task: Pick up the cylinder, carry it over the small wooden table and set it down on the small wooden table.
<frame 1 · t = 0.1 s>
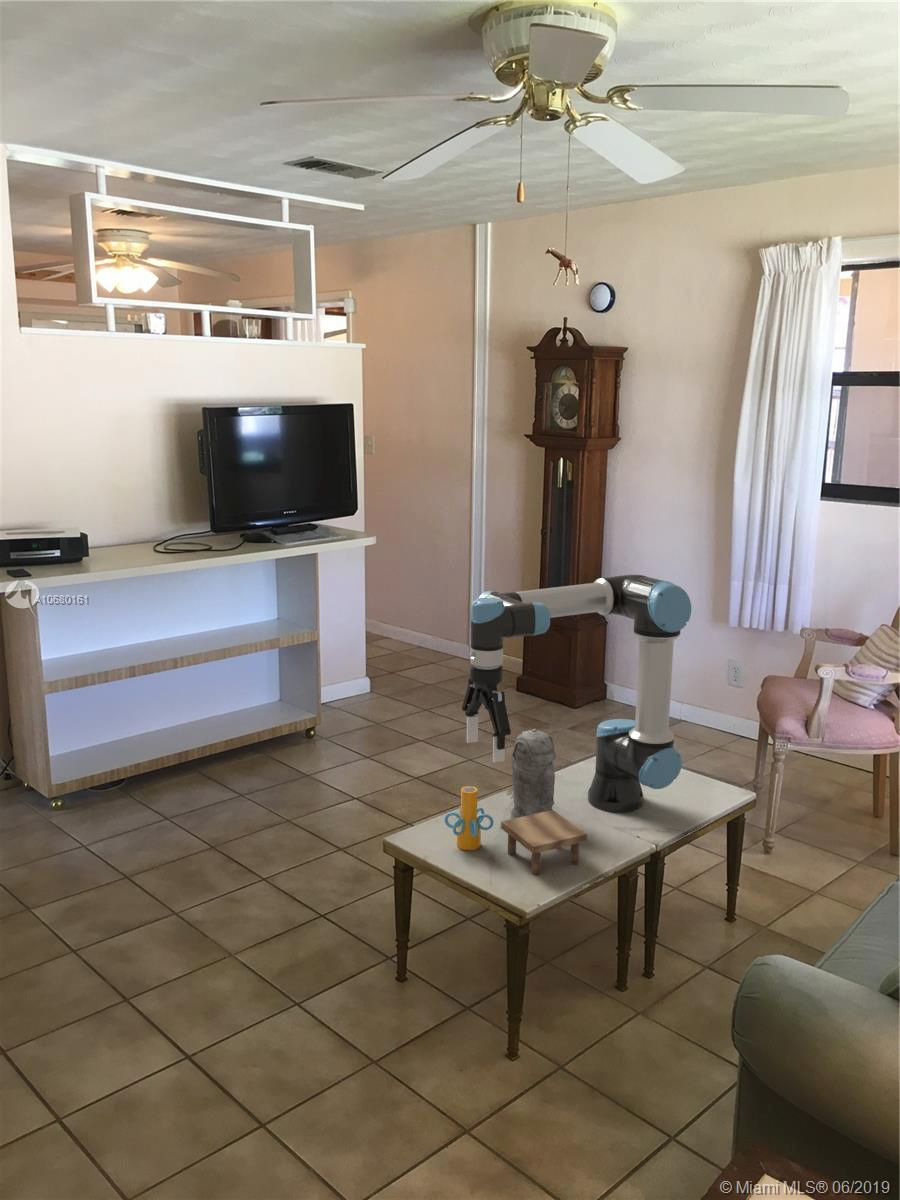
hand: (485, 751, 227), 28 cm above the table, fingers open, 13 cm apart
figurine: (530, 819, 255), on the table
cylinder: (468, 846, 240), on the table
small wooden table: (542, 858, 234), on the table
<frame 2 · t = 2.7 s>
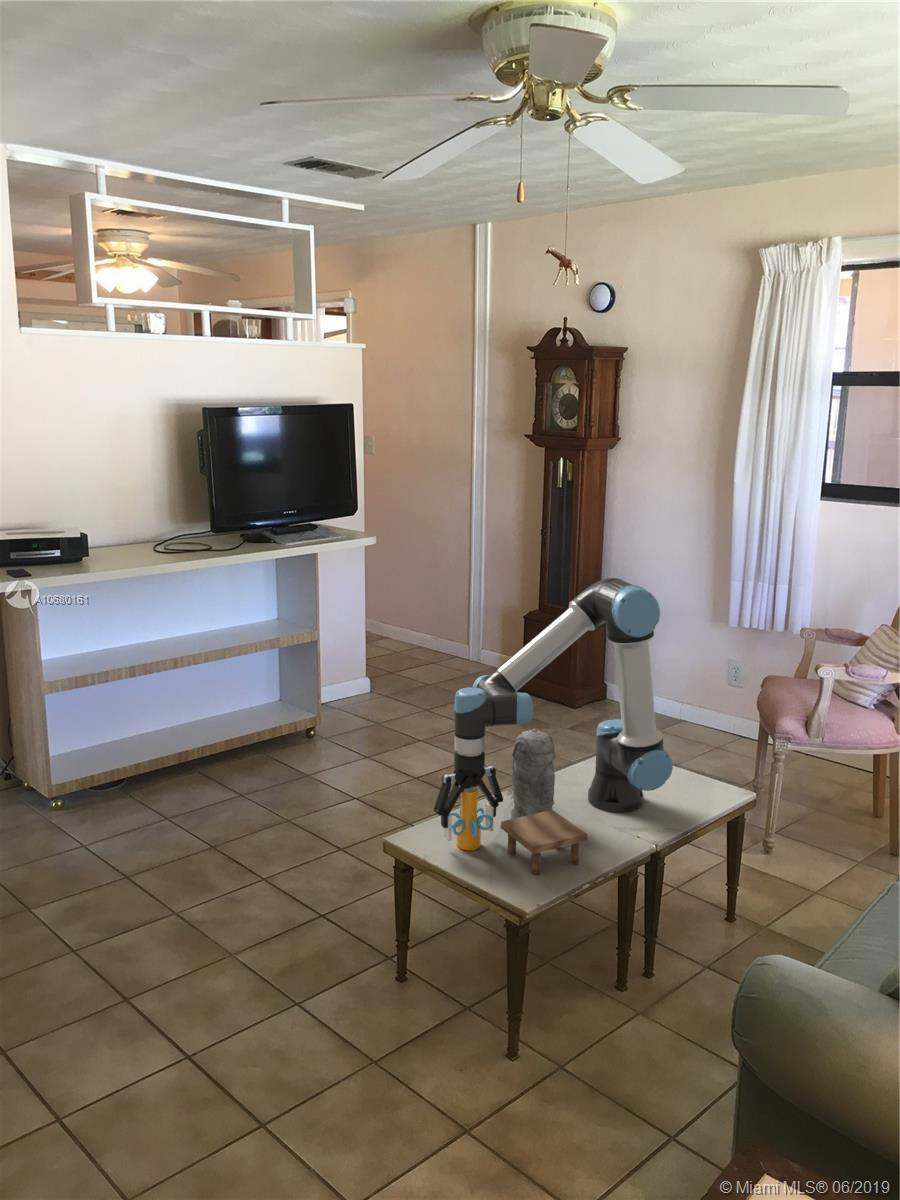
hand: (468, 834, 239), 3 cm above the table, fingers closed on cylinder, 11 cm apart
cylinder: (468, 846, 240), on the table, touching gripper
everything else where it was.
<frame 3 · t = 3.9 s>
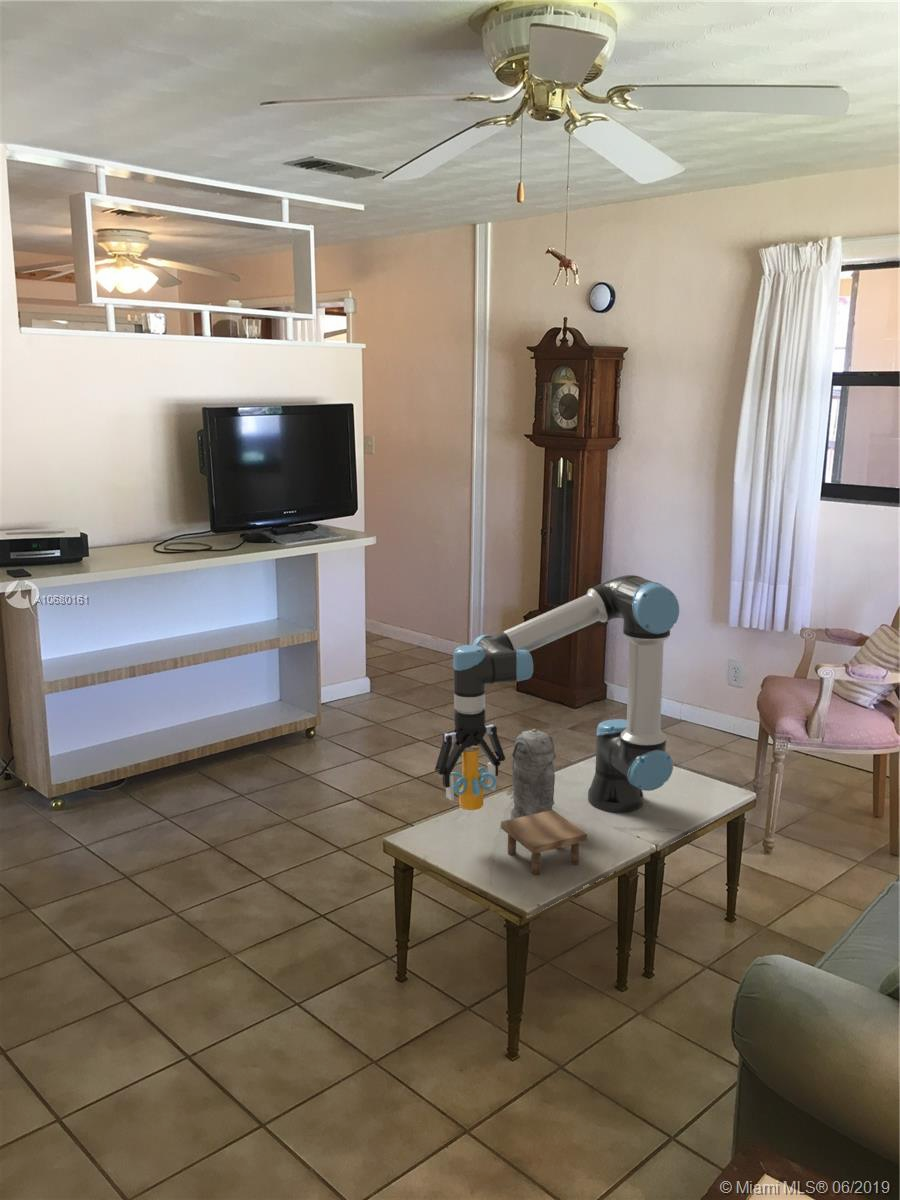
hand: (471, 793, 237), 14 cm above the table, fingers closed on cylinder, 11 cm apart
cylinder: (471, 806, 238), point 10 cm above the table, touching gripper
everything else where it was.
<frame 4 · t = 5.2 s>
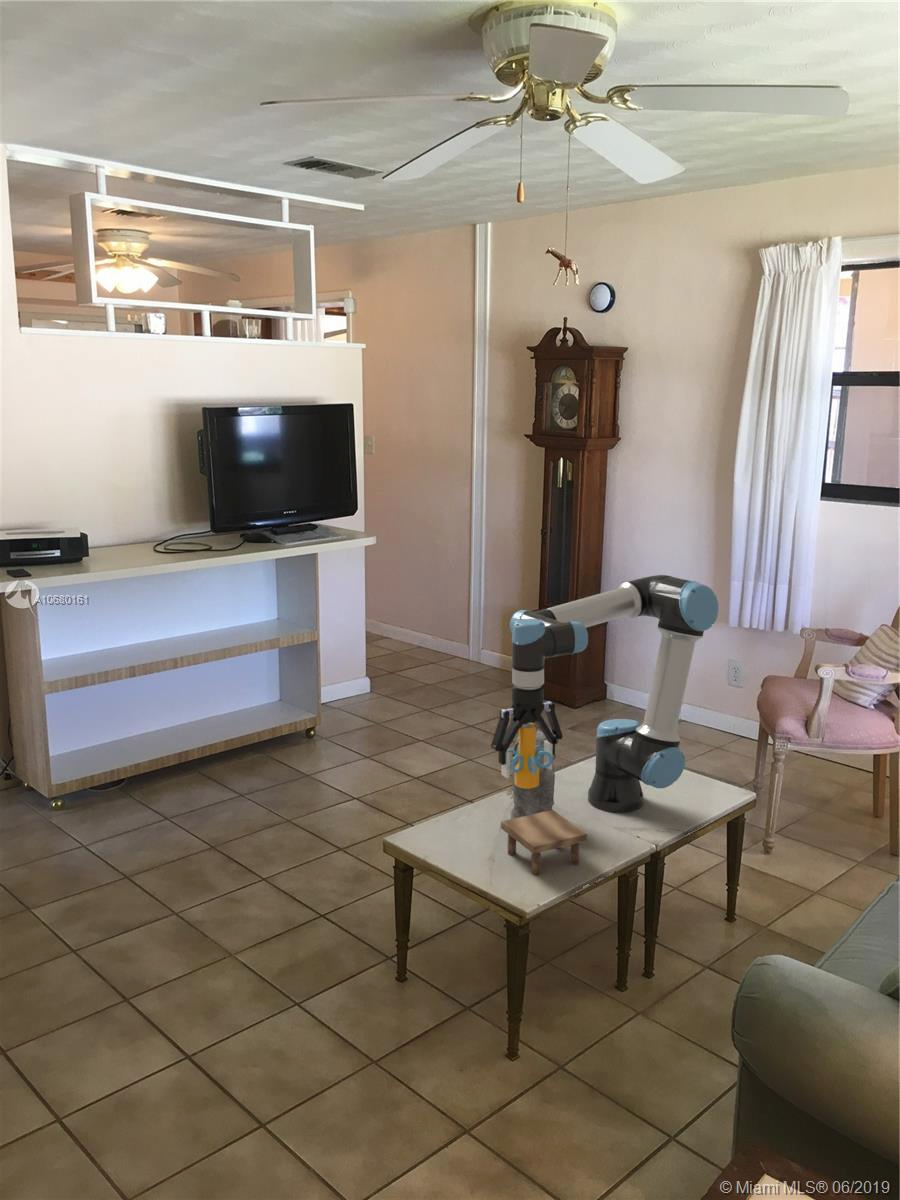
hand: (526, 772, 231), 22 cm above the table, fingers closed on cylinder, 11 cm apart
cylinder: (526, 784, 232), point 18 cm above the table, touching gripper
everything else where it was.
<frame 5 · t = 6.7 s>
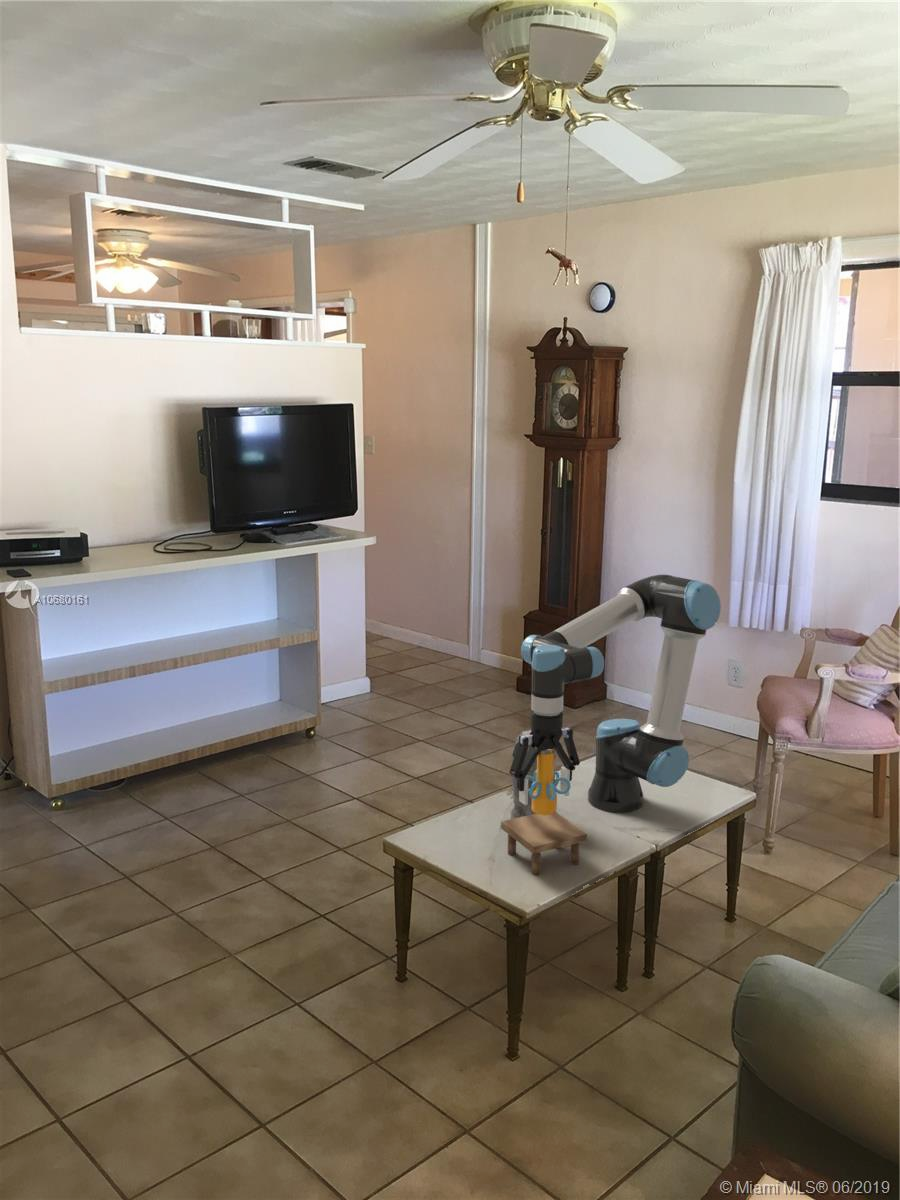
hand: (544, 798, 230), 16 cm above the table, fingers closed on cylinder, 11 cm apart
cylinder: (543, 811, 231), point 12 cm above the table, touching gripper
everything else where it was.
when the fingers open (12 cm above the table, at t = 8.0 s): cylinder stays where it is, resting on small wooden table.
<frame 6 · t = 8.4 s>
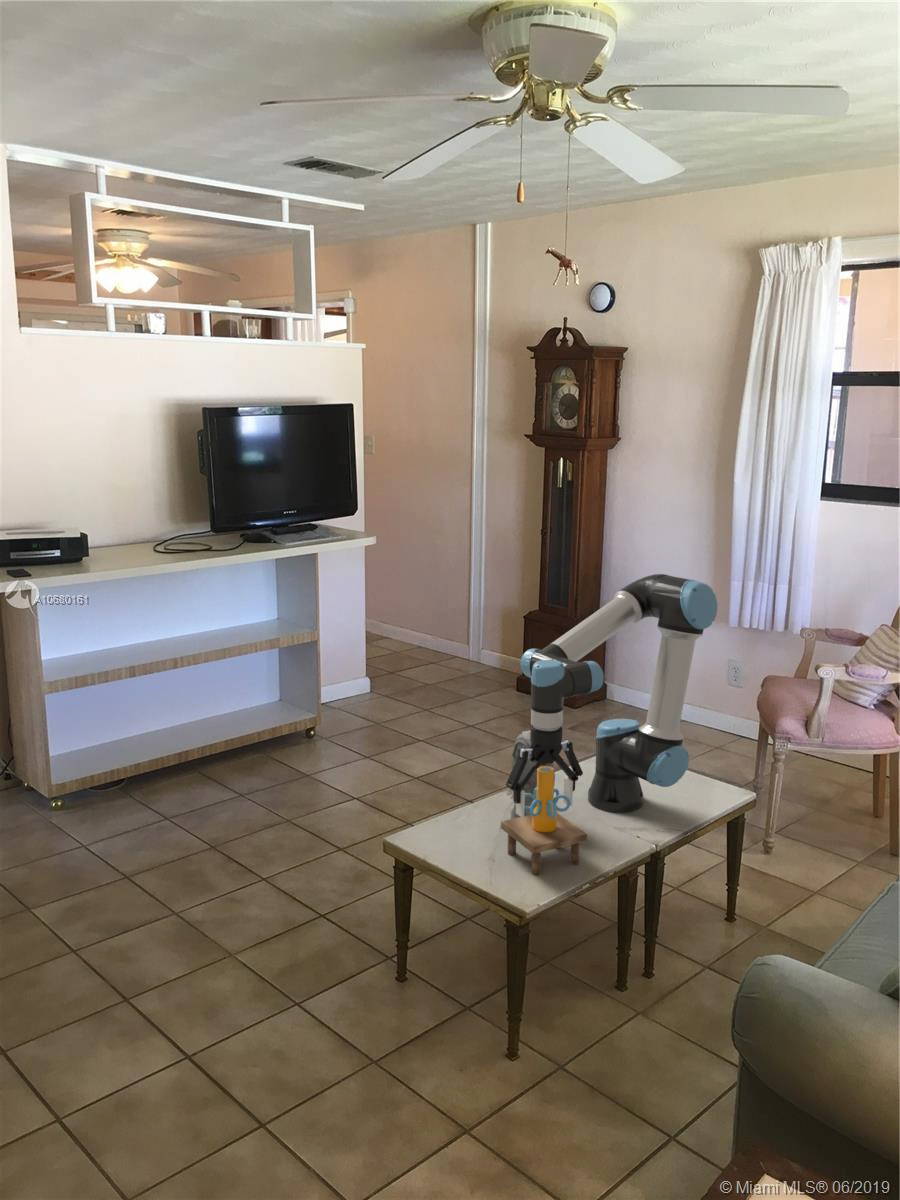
hand: (544, 809, 231), 13 cm above the table, fingers open, 13 cm apart
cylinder: (543, 828, 232), point 8 cm above the table, touching small wooden table
everything else where it was.
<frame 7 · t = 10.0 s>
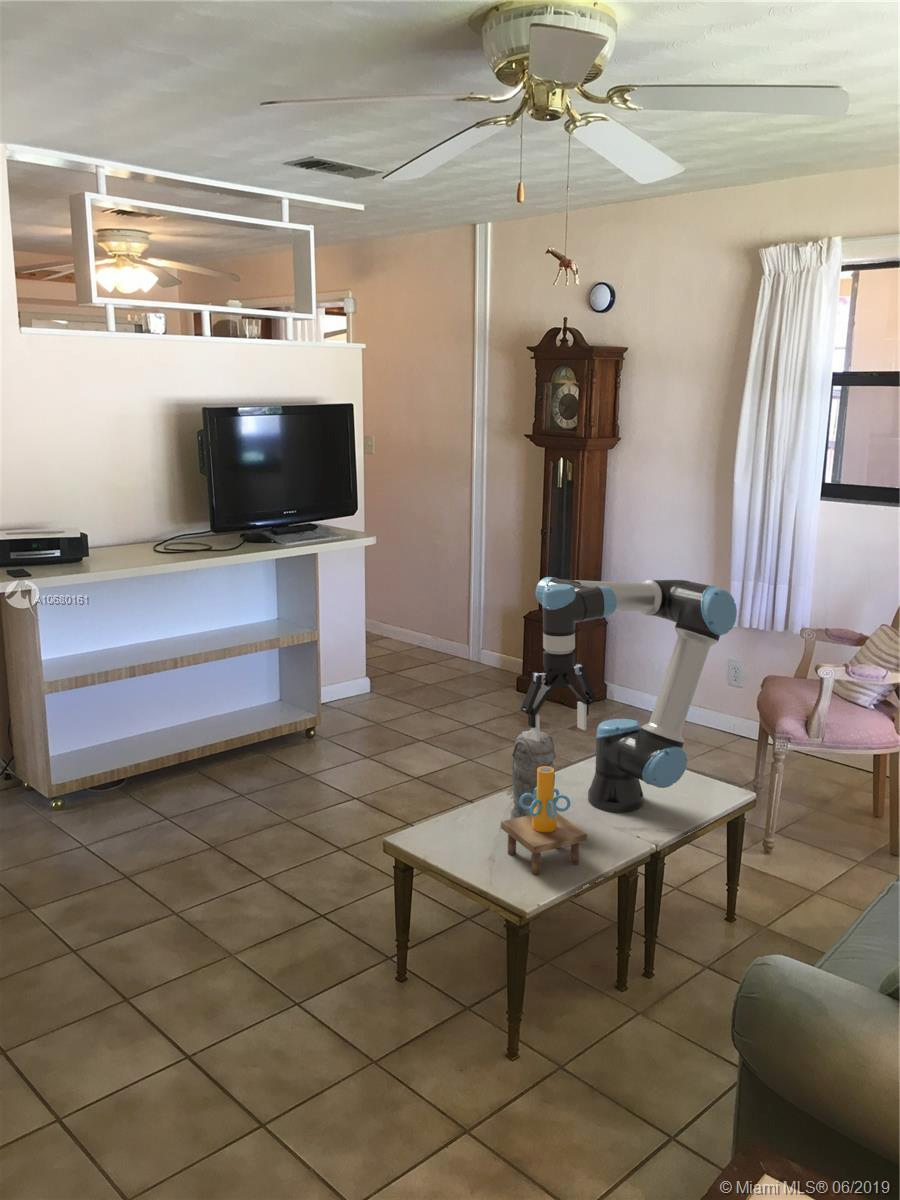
hand: (558, 734, 232), 30 cm above the table, fingers open, 13 cm apart
nothing on the table moved.
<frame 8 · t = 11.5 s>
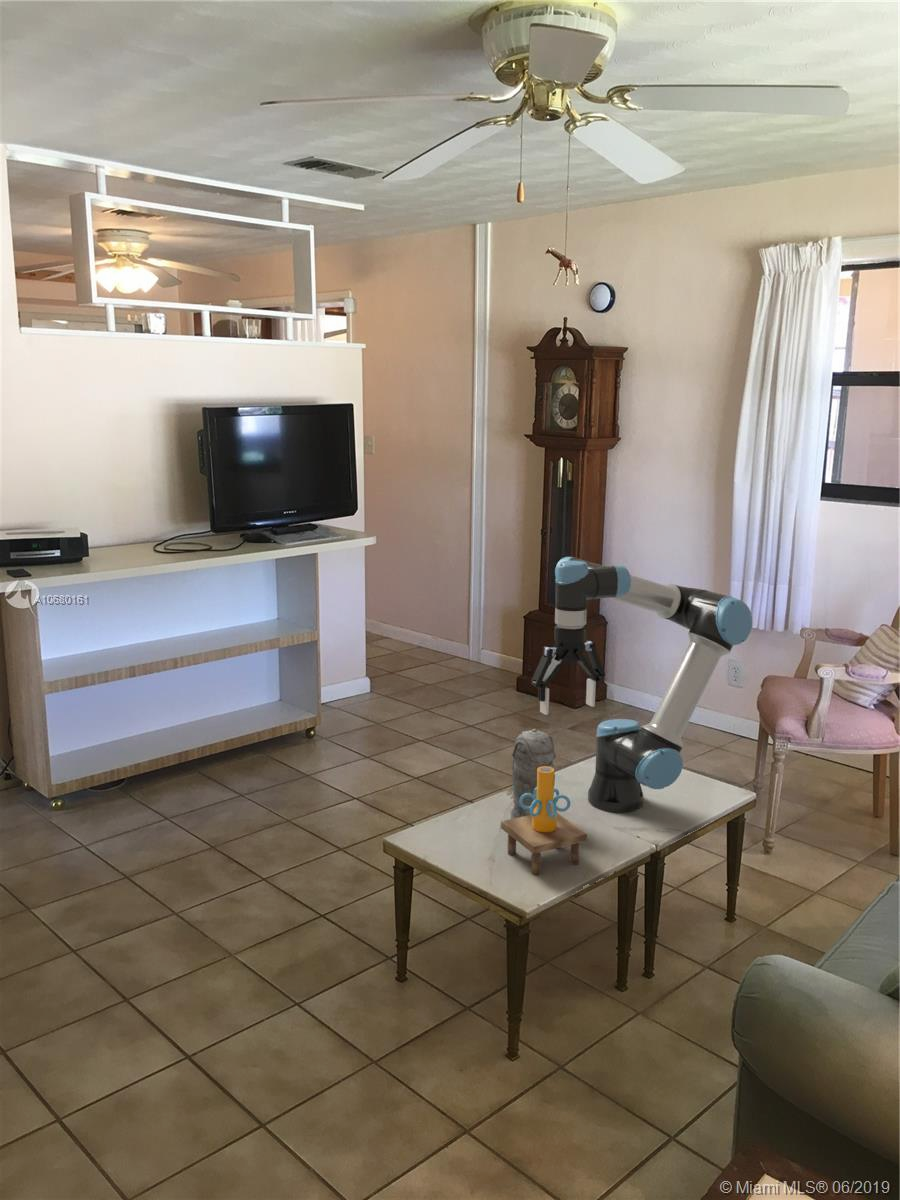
hand: (567, 709, 236), 35 cm above the table, fingers open, 13 cm apart
nothing on the table moved.
at the end: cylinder inside the target area on the small wooden table (0.1 cm from its centre), point 7.8 cm above the small wooden table's base; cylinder tilted 0°; the gripper is holding nothing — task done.
